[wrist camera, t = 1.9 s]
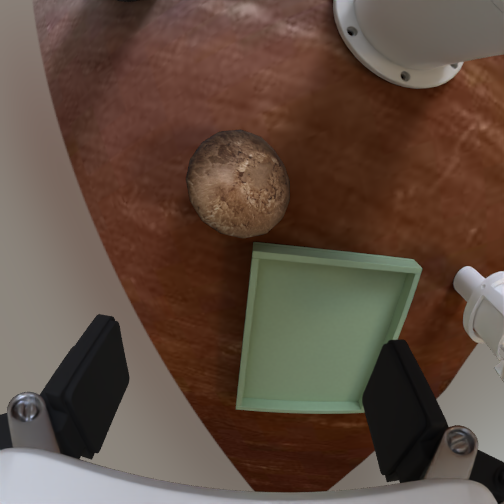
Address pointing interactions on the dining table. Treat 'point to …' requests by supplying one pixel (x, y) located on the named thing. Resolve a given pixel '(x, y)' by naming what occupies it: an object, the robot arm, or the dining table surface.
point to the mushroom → (238, 184)
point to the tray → (318, 326)
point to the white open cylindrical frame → (483, 309)
